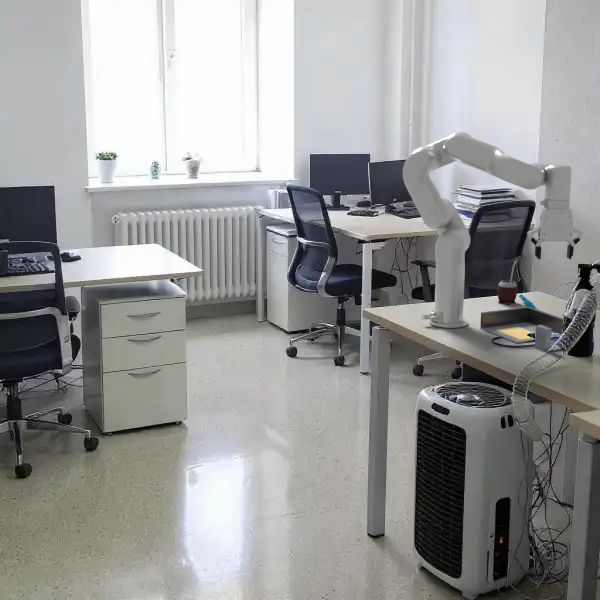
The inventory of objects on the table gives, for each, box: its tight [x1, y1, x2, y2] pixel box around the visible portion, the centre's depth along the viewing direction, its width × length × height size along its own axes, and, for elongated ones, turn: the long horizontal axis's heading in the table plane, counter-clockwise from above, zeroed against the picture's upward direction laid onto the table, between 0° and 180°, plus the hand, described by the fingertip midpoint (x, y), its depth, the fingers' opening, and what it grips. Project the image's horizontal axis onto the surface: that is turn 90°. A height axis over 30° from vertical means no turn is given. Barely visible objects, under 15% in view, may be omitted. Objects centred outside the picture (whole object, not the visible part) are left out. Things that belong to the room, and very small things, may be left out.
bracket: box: [534, 325, 557, 353], centre depth 276 cm, size 7×5×7 cm
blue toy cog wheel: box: [518, 293, 539, 310], centre depth 315 cm, size 11×6×10 cm
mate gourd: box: [497, 260, 519, 306], centre depth 331 cm, size 8×8×15 cm
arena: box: [479, 306, 565, 344], centre depth 293 cm, size 19×19×6 cm
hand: (553, 258), depth 288 cm, fingers open, 9 cm apart
